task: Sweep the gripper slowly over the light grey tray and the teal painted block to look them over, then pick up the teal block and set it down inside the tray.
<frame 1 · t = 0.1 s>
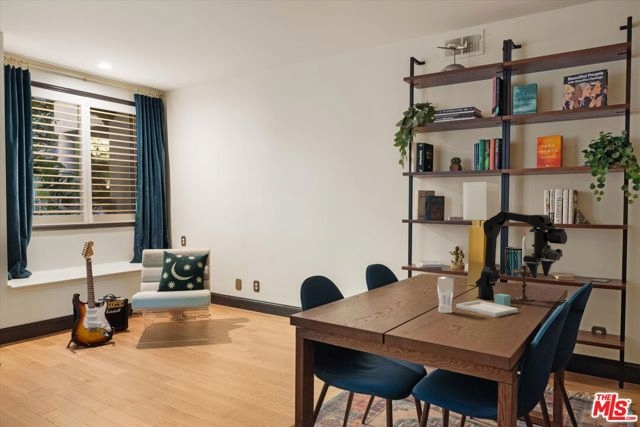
hand: (540, 277, 202), 15 cm above the table, tool pointing down, fingers open, 9 cm apart
beer glass: (445, 312, 197), on the table
candlestick: (523, 299, 224), on the table
block: (502, 305, 210), on the table
tray: (486, 310, 200), on the table
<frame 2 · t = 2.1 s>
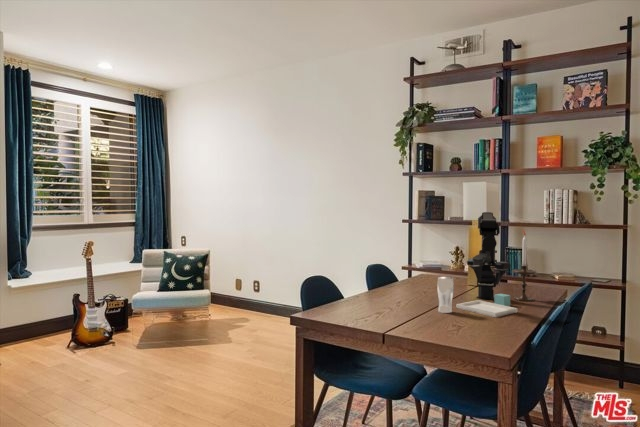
hand: (487, 283, 199), 12 cm above the table, tool pointing down, fingers open, 9 cm apart
nothing on the table moved.
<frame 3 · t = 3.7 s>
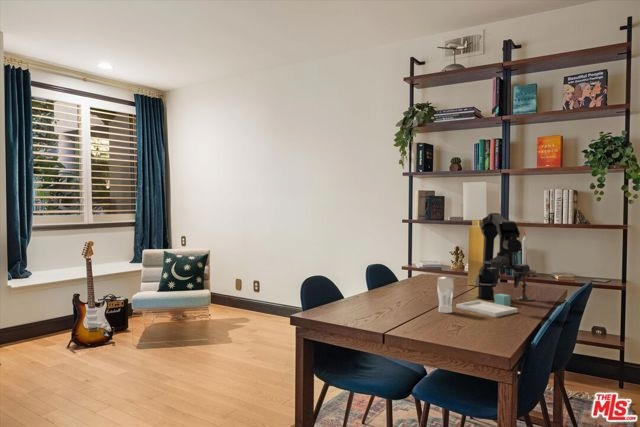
hand: (505, 286, 195), 12 cm above the table, tool pointing down, fingers open, 9 cm apart
nothing on the table moved.
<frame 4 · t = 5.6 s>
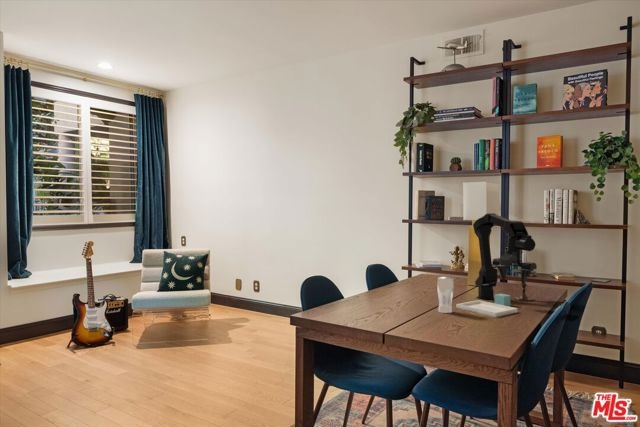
hand: (513, 282, 205), 12 cm above the table, tool pointing down, fingers open, 9 cm apart
nothing on the table moved.
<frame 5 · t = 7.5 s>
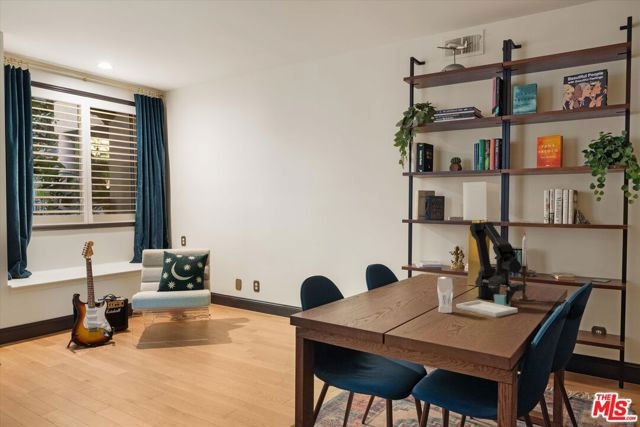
hand: (502, 303, 210), 1 cm above the table, tool pointing down, fingers closed on block, 5 cm apart
block: (502, 305, 210), on the table, touching gripper
everything else where it was.
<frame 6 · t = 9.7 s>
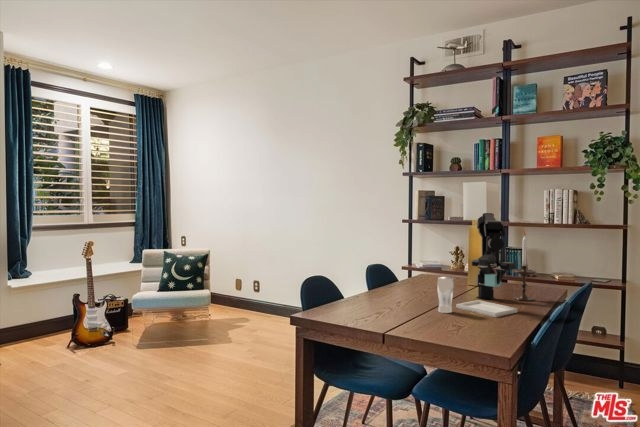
hand: (492, 283, 203), 11 cm above the table, tool pointing down, fingers closed on block, 5 cm apart
block: (492, 285, 203), point 10 cm above the table, touching gripper
everything else where it was.
when the fingers open (3 cm above the table, at t = 11.8 s): block drops 2 cm, resting on tray.
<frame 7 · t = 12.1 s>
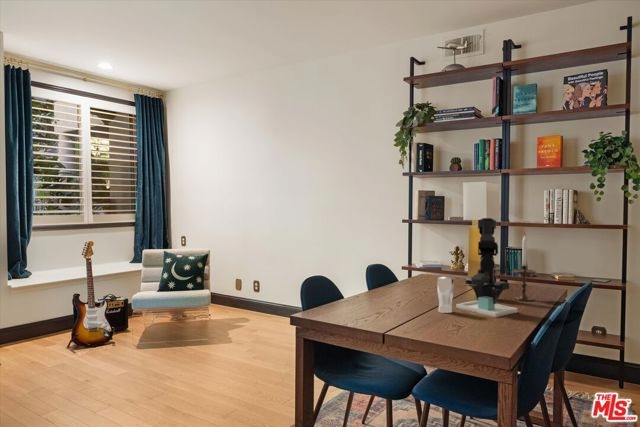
hand: (486, 302, 200), 3 cm above the table, tool pointing down, fingers open, 8 cm apart
block: (486, 308, 200), point 1 cm above the table, touching tray
everything else where it was.
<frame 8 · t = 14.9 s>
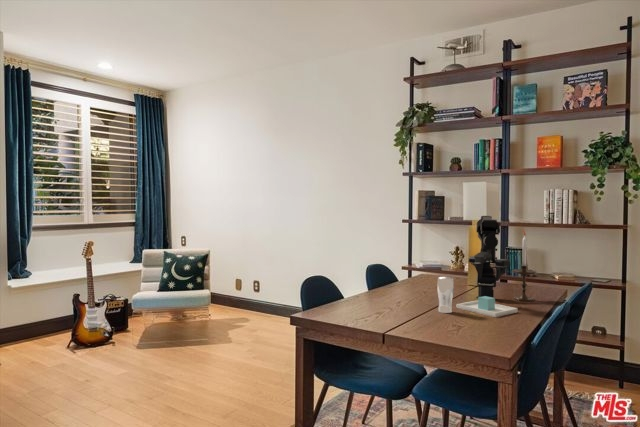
hand: (488, 279, 211), 12 cm above the table, tool pointing down, fingers open, 9 cm apart
nothing on the table moved.
at the end: block inside the target area on the tray (0.1 cm from its centre), point 0.6 cm above the tray's base; the gripper is holding nothing; block tilted 0° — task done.
